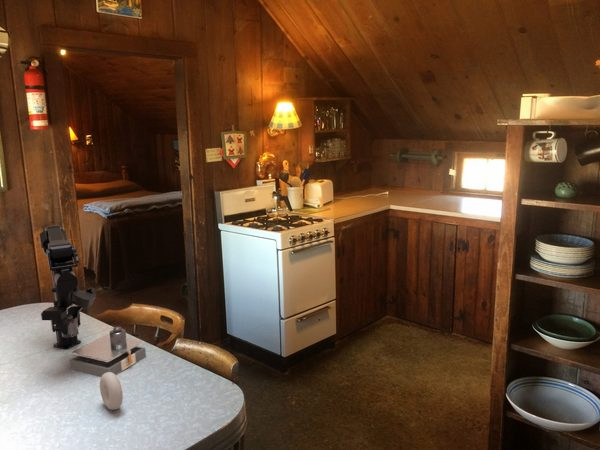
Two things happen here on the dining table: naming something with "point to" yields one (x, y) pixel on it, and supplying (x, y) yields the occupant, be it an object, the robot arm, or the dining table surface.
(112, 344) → the weight
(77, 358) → the scale base
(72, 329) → the weight
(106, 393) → the donut
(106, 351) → the scale pan
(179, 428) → the dining table surface
